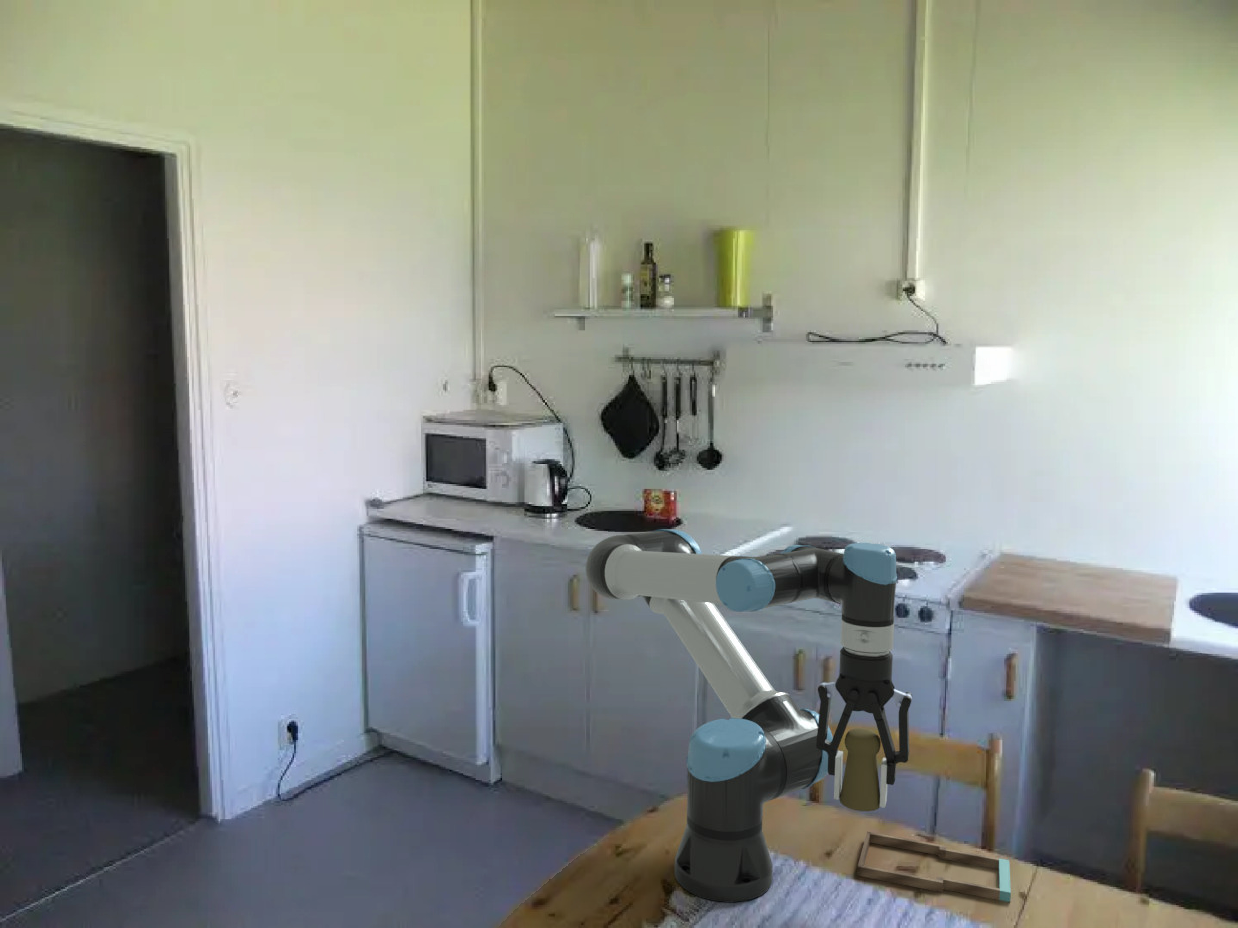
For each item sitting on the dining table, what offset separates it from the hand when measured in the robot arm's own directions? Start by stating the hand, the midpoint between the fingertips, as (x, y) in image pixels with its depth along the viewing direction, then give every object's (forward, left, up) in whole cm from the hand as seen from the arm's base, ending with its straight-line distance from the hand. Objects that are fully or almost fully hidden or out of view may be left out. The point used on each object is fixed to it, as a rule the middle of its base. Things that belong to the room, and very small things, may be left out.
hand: (860, 799), depth 141 cm
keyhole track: (+11, +11, -14) cm, 21 cm away
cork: (0, 0, -1) cm, 1 cm away
